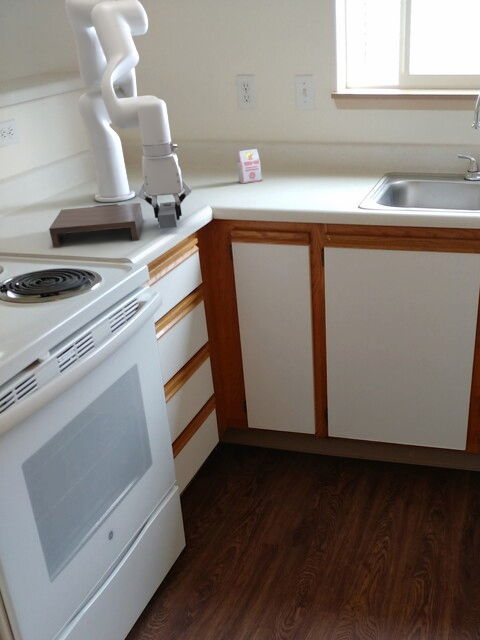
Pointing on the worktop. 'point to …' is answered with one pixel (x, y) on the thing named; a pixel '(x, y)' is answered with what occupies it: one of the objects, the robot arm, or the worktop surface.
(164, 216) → the grey long block
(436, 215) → the worktop surface
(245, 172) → the white paper food bag
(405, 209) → the worktop surface
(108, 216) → the shelf
